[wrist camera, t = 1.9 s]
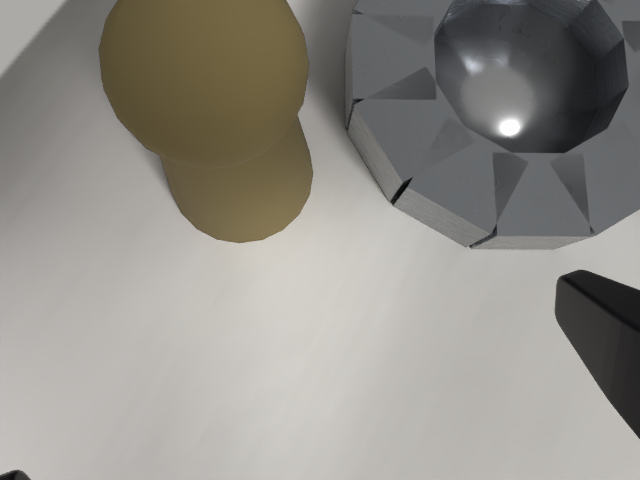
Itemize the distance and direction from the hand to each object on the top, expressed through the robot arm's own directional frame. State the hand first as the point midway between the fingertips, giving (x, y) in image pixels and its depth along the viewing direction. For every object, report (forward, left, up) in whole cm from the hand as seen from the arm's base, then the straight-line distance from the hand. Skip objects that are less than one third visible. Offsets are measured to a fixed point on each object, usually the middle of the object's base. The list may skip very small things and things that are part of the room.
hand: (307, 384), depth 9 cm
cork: (+6, -5, -14) cm, 16 cm away
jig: (-2, -14, -13) cm, 20 cm away
